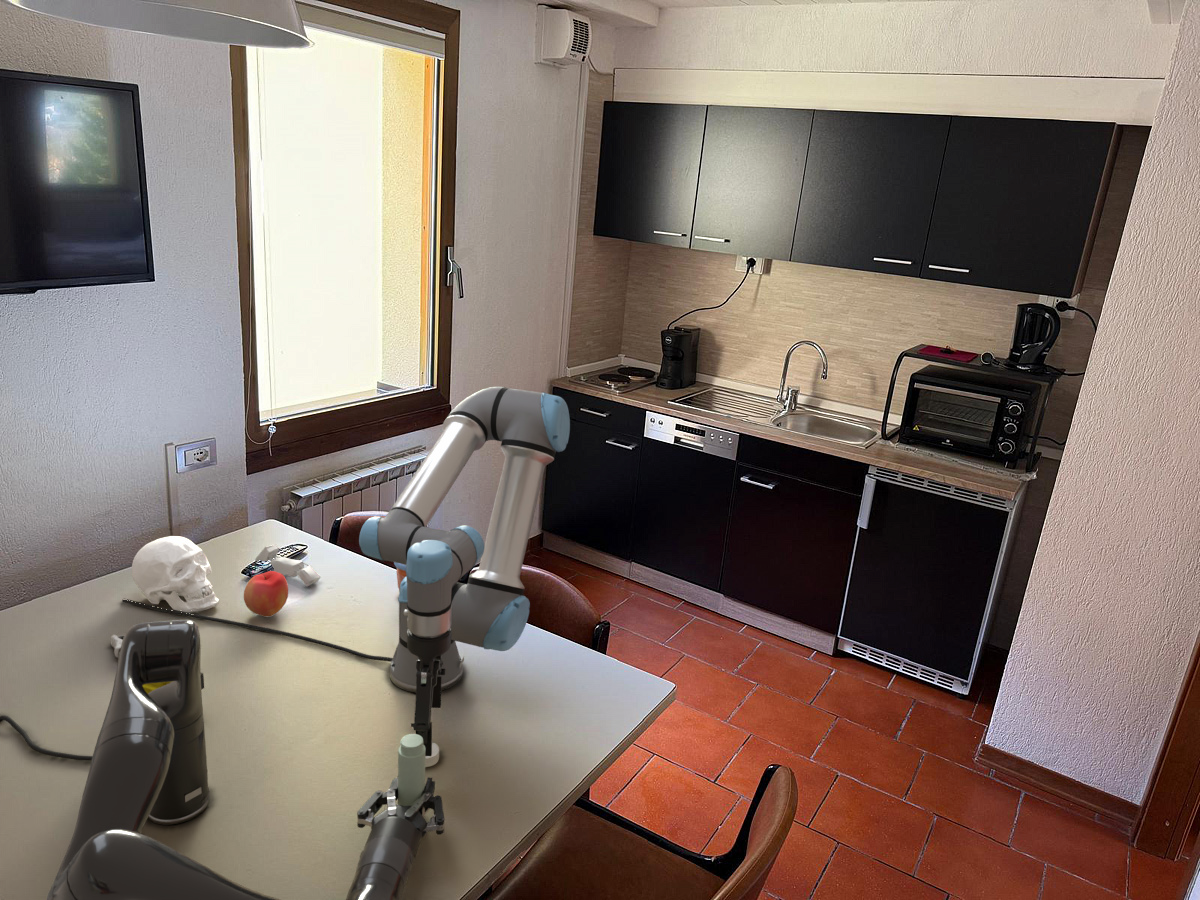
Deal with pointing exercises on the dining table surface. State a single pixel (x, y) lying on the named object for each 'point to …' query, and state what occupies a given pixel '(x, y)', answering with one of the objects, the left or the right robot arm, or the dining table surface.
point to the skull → (174, 574)
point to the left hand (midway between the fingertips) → (415, 781)
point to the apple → (266, 593)
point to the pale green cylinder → (411, 769)
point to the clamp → (288, 565)
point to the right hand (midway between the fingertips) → (428, 729)
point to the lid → (432, 756)
